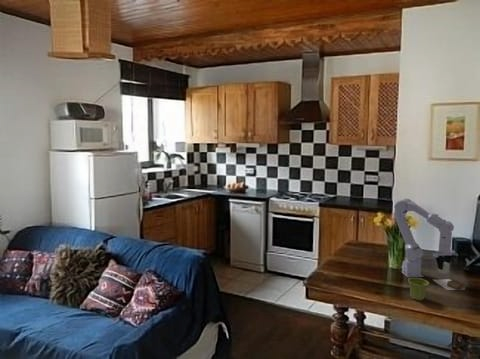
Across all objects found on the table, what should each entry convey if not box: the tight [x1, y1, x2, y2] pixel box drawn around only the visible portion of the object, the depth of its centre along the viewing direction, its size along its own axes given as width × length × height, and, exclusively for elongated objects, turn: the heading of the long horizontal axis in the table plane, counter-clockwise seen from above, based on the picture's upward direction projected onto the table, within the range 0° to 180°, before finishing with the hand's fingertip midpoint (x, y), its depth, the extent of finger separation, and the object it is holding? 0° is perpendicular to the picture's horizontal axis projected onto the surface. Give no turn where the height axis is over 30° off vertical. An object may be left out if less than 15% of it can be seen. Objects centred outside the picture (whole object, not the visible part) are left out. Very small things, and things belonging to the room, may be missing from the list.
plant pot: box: [407, 277, 430, 301], centre depth 197 cm, size 9×9×9 cm
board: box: [432, 278, 466, 291], centre depth 213 cm, size 10×14×1 cm
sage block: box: [436, 262, 451, 274], centre depth 216 cm, size 4×4×5 cm
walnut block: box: [447, 279, 466, 291], centre depth 210 cm, size 6×6×2 cm
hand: (443, 268), depth 216 cm, fingers closed on sage block, 4 cm apart
